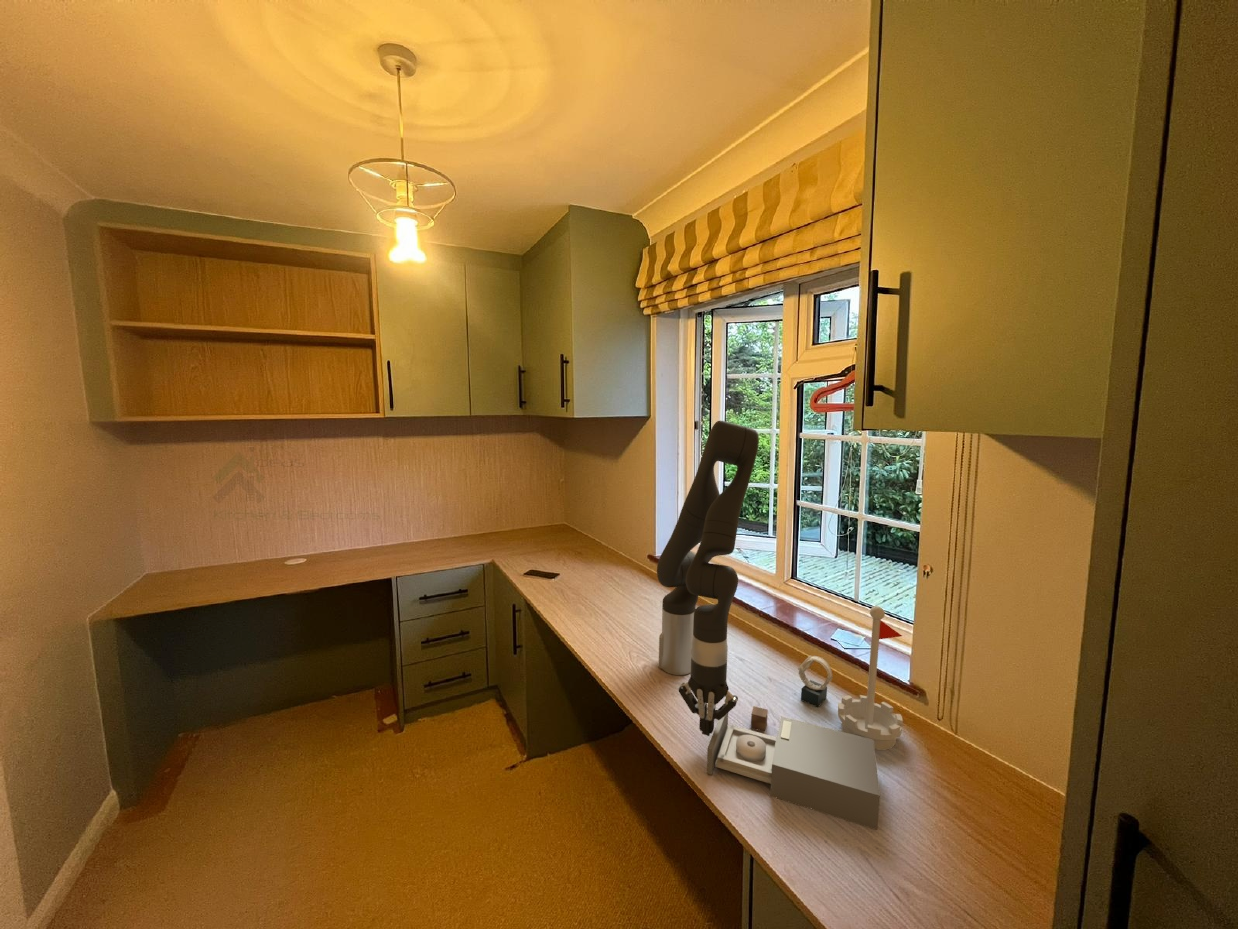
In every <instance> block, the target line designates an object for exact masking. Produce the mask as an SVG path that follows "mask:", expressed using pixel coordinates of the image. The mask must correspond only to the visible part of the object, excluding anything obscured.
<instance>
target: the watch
mask: <svg viewBox="0 0 1238 929" xmlns="http://www.w3.org/2000/svg"><path fill="white" fill-rule="evenodd" d="M814 662H816V663H818V664H820V665H821V666H822V667H823V668H824V669H825V671H826V673H827V677H826V679H825V681H824V682H823V683H819V682H816V681H814V680H811V679H810V680H809V679H808V677H807V676H806V673H805V672H806V671H807V670H808V669H809V668H810V667H811V665H813V663H814ZM797 670H798V676H799V677H800V680H801V682H802V683H803V684H804V686H802V688H801V691H800V701H802V702H805V703H806V704H809V705H812V706H813V707H816V708H819V707H820V706H821V705H822V704H823V703H824V701H825V700H826V699H827V697H828V696H827V694H828V685H829V684H830V683H831V681H832V680H833V671H832V668H831V665H830V664H829V663H828V662H827V660H825V659H824V658H823V657H820V656H817V655H809V656H808V657H807V658H805V660H804V661H803V662H802V663H801V664H800V665H799V666H798V669H797Z"/></svg>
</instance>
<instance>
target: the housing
mask: <svg viewBox="0 0 1238 929" xmlns="http://www.w3.org/2000/svg"><path fill="white" fill-rule="evenodd" d="M776 737H777V740H776V745H775V751H774V756H773V761H772V773H771V784H770V795H769V796H770V797H773V798H775V797H777V798H776V799H779V800H783V801H785V802H788V801H789V802H788V803H791V802H792V804H794V803H795V804H794V805H797V804H799V805H798V806H801V807H804V806H805V807H804V808H807V807H808V809H810V808H812V809H811V810H813V809H814V811H817V812H819V813H823V814H825V815H829V816H832V817H835V818H839V819H842V820H844V821H848V822H851V823H854V824H858V825H861V826H863V827H866V828H870V829H873V830H878V825H879V810H880V799H881V794H880V793H881V792H880V785H879V777H878V776H879V775H878V767H877V766H878V764H877V758H876V749H875V746H874V740H873V739H869V738H865V737H861V736H857V735H853V734H849V733H845V732H843V731H841V730H836V729H833V728H830V727H825V726H820V725H817V724H813V723H809V722H805V721H802V720H797V719H793V718H789V717H785V716H782V715H780V720H779V724H778V731H777V736H776Z"/></svg>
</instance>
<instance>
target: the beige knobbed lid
mask: <svg viewBox="0 0 1238 929" xmlns="http://www.w3.org/2000/svg"><path fill="white" fill-rule="evenodd" d="M736 751H737V753H738V755H739V756H741V757H742V758H744V759H746V760H748V761H754V762H756V761H761V760H763V759H764V758H765V756H766V744H765V743H764V741H763V740H762V739H760V738H758V737H756V736H753V735H742V736H739V737H738V738H737V740H736Z"/></svg>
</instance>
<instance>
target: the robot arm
mask: <svg viewBox="0 0 1238 929" xmlns="http://www.w3.org/2000/svg"><path fill="white" fill-rule="evenodd" d="M706 439H707V440H706V442H705V445H704V449H703V451H702V454H701V458H700V462H699V464H698V468H697V470H696V474H695V476H694V478H693V481H692V484H691V486H690V488H689V491H688V493H687V495H686V497H685V499H684V502H683V505H682V508H681V510H680V513H679V516H678V519H677V522H676V524H675V526H674V528H673V531H672V534H671V535H670V537H669V539H668V541H667V544H666V545H665V547H664V549H663V551H662V552H661V554H660V555H659V556H660V557H659V559H658V561H657V565H656V566H657V567H656V574H657V575H656V576H657V580H658V582H659V584H660V585H662V586H663V587H664V588H674V589H673V590H671V591H670V592H669V593H667V594H666V595H664V596H663V598H662V610H661V611H662V612H661V633H660V634H659V637H658V669H661V670H663V671H664V672H666V673H668V674H669V675H675V676H683V675H688V674H690V676H689V679H688V682H682V683H681V685H680V686H679V688H678V690H677V691H678V693H679V694H680V696H681V698H682V699H683V701H684V703H685V704H686V705H687V707H688V709H689V710H690V712H691V713H692V714H697V715H698V717H699V724H698V725H699V726H698V727H699V728H698V729H699V731H700V732H701V734H702V735H704V736H708V737H709V736H710V735H711V734H712V735H713V733H714V730H715V720H717V721H718V720H720V719H721V718H723V717H724V716H725V715H726V714H727V713H728V714H729V712H731V710H733V709H734V708H735V707H736V705H737V702H738V700H739V696H737V695H733V694H732V693H731V692H730V691H729V686H728V684H727V675H728V674H727V672H728V654H729V653H728V652H729V650H728V622H729V614H730V610H731V607H732V602H733V600H734V597H735V595H736V592H737V589H738V586H739V577H738V573H737V571H736V570H735V569H734V568H733V567H732V566H731V565H730V566H729V565H725V564H719V563H718V564H717V563H712V562H711V560H712V559H714V558H715V557H717V556H718V557H720V556H726V555H731V554H732V553H733V552H734V550H735V546H736V539H737V534H738V533H737V532H738V527H739V520H740V515H741V511H742V510H741V509H742V507H743V503H744V500H745V496H746V493H747V491H748V487H749V484H750V479H751V477H752V473H753V469H754V466H755V462H756V459H757V455H758V451H759V450H758V449H759V446H760V444H759V443H760V436H759V433H758V431H757V429H755V428H751V427H747V426H744V425H742V424H738V423H734V422H729V421H727V420H725V421H724V420H717V421H716V422H714V424H713V426H712V427H711V429H710V431H709V433H708V436H707V438H706ZM717 462H721V463H724V464H728V465H732V466H735V467H737V468H736V472H735V475H734V477H733V479H732V480H731V482H730V483H729V485H728V486H727V487H726V488H725V489H724V490H723V491H722V492H721V493H720V490H719V487H718V484H717V481H716V477H715V476H716V475H715V464H716V463H717ZM698 544H699V546H698ZM696 546H698V548H697V551H696V553H694V552H693V551H691V550H693V549H694V548H695V547H696ZM699 597H701V598H703V597H704V598H709V599H713V600H717V603H716V604H715V603H714V604H703V605H699V606H697V603H698V601H699ZM723 699H724V703H723V704H722V705H721V706H720V707H719V708H716V707H717V705H718V704H719V703H720V702H721V701H722V700H723Z"/></svg>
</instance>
